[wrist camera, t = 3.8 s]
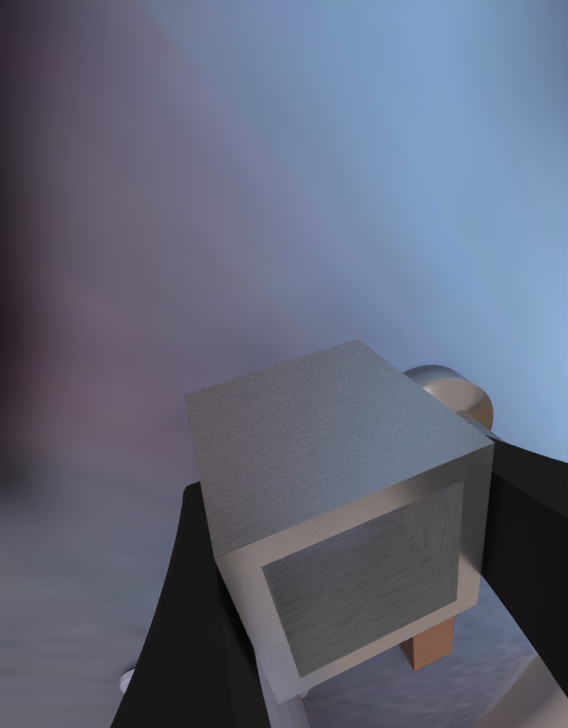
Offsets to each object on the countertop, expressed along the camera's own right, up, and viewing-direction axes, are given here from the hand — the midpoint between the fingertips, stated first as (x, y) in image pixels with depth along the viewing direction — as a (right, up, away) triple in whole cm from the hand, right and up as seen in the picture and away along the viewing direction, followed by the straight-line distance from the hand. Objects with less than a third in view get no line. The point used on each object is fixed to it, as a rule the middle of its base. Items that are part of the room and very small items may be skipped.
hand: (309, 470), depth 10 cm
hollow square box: (-1, +1, +1) cm, 2 cm away
